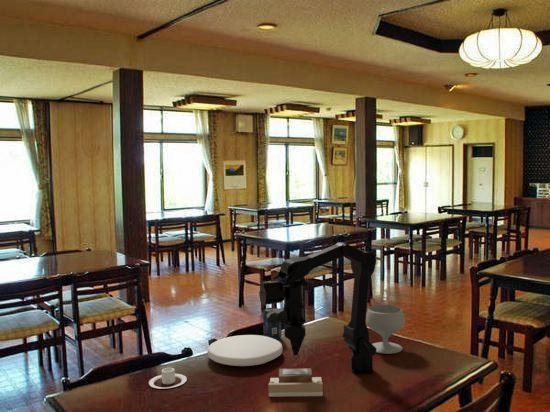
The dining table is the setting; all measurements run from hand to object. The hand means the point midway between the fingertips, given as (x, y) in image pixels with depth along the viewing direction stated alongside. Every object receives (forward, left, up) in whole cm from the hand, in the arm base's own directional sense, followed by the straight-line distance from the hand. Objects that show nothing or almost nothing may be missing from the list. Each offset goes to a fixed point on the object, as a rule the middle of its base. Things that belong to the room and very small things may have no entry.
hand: (295, 349), depth 165 cm
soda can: (+9, -43, -11) cm, 45 cm away
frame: (0, +3, -10) cm, 10 cm away
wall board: (0, +4, -11) cm, 11 cm away
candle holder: (+41, -3, -11) cm, 43 cm away
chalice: (-33, -30, -11) cm, 46 cm away
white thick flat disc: (+18, -24, -11) cm, 32 cm away
